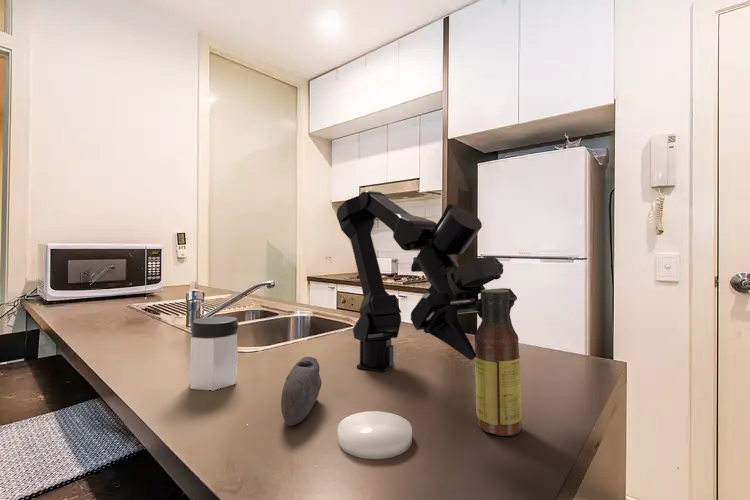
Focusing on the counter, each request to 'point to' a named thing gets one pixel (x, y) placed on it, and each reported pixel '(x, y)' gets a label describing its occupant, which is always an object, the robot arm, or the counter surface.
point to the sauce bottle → (497, 367)
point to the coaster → (374, 435)
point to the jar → (213, 352)
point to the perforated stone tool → (300, 390)
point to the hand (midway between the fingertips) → (495, 353)
